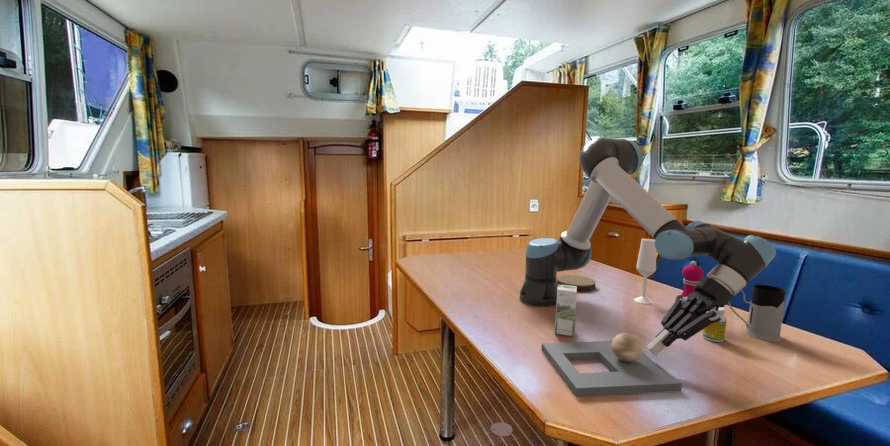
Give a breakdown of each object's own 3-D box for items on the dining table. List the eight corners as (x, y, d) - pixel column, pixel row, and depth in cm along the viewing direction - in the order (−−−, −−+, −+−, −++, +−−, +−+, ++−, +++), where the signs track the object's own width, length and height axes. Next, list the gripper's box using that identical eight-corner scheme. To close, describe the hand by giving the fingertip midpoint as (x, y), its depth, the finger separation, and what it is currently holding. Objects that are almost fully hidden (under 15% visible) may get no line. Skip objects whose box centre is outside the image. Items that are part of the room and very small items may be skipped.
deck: (626, 347, 109) (627, 340, 109) (681, 391, 88) (681, 383, 87) (541, 350, 107) (541, 343, 107) (576, 396, 85) (576, 388, 85)
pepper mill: (704, 322, 128) (710, 264, 125) (680, 320, 129) (686, 262, 126) (694, 314, 135) (700, 259, 132) (672, 313, 136) (677, 257, 133)
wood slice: (563, 279, 178) (563, 273, 177) (599, 285, 168) (599, 279, 168) (551, 287, 165) (551, 280, 164) (589, 295, 156) (589, 287, 155)
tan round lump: (608, 362, 97) (609, 335, 96) (613, 351, 102) (615, 326, 101) (638, 370, 93) (641, 343, 92) (642, 358, 99) (645, 332, 98)
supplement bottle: (717, 344, 112) (721, 312, 111) (698, 336, 117) (701, 306, 115) (727, 340, 115) (731, 309, 113) (708, 333, 119) (712, 303, 118)
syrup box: (574, 330, 121) (577, 285, 119) (574, 337, 115) (577, 291, 113) (555, 327, 122) (557, 283, 120) (554, 334, 117) (556, 288, 115)
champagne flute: (634, 302, 147) (639, 240, 143) (632, 297, 153) (637, 237, 149) (654, 304, 144) (659, 242, 141) (652, 299, 150) (657, 239, 147)
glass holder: (784, 344, 113) (791, 294, 111) (724, 332, 120) (730, 286, 118) (778, 333, 120) (784, 287, 118) (722, 323, 127) (727, 279, 125)
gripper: (750, 305, 91) (678, 374, 92) (707, 288, 104) (644, 348, 105) (732, 284, 90) (659, 354, 91) (691, 269, 103) (627, 331, 104)
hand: (651, 351), depth 98 cm, fingers closed
